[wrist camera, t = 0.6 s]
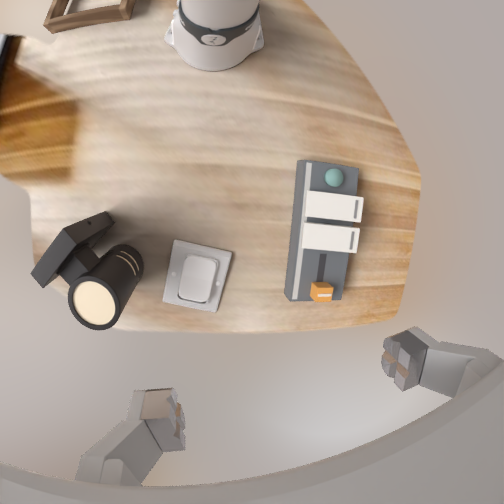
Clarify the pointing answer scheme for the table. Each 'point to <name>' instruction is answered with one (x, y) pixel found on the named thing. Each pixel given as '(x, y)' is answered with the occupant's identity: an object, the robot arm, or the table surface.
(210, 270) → the light switch
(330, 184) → the button
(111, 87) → the table surface
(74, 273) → the light fixture
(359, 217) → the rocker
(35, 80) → the table surface
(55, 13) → the frame
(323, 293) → the slider knob
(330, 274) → the panel
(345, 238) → the panel
